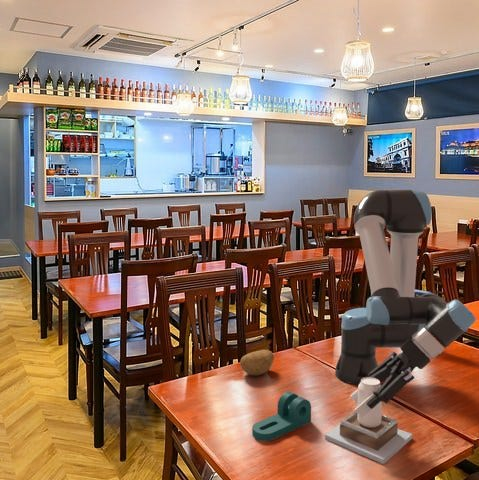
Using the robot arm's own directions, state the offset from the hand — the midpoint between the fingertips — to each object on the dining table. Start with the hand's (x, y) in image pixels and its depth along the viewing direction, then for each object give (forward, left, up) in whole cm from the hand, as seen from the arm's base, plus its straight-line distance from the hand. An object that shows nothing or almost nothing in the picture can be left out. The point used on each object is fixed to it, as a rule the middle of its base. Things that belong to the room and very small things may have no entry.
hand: (356, 406), depth 131 cm
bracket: (-18, -9, -10) cm, 23 cm away
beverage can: (+3, +2, -5) cm, 6 cm away
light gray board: (+3, +2, -9) cm, 10 cm away
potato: (-47, +14, -9) cm, 50 cm away
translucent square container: (+3, +2, -8) cm, 9 cm away
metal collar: (+3, +2, -5) cm, 6 cm away
